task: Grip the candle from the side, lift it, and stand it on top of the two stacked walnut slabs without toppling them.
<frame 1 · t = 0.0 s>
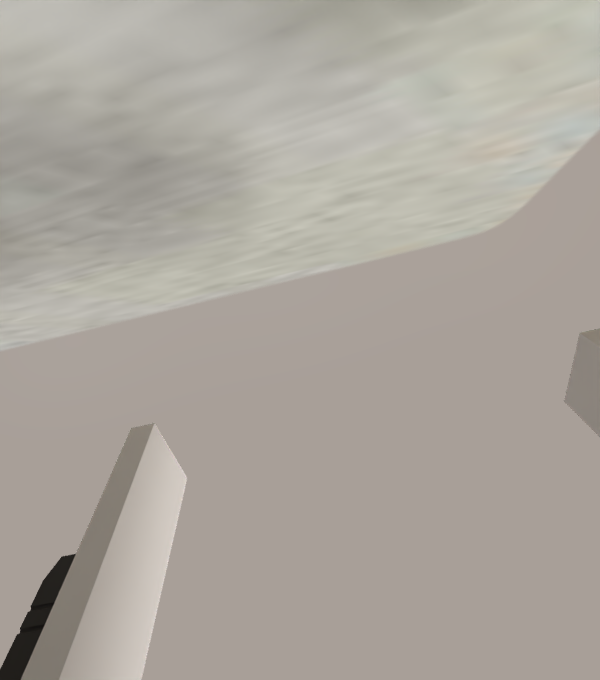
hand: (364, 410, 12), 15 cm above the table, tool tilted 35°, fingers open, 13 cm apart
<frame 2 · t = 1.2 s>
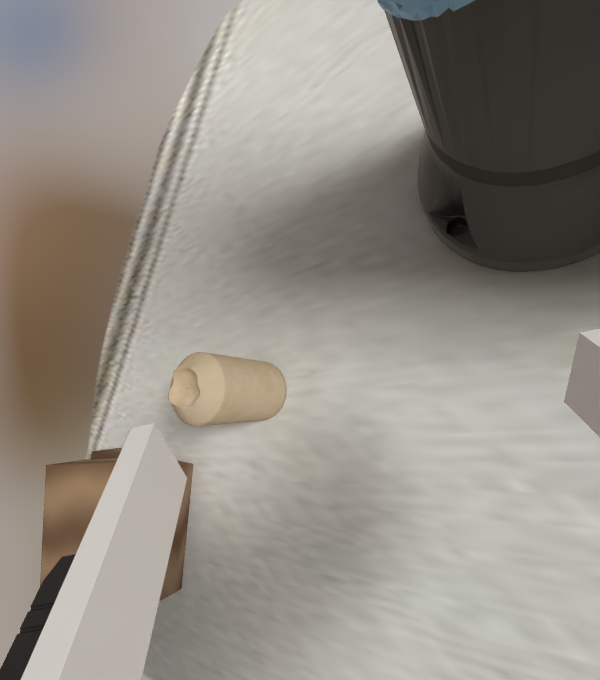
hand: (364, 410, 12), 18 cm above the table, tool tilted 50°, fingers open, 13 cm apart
tower base: (152, 510, 41), on the table, touching tower top
tower top: (117, 519, 37), point 3 cm above the table, touching tower base
candle: (263, 390, 35), on the table
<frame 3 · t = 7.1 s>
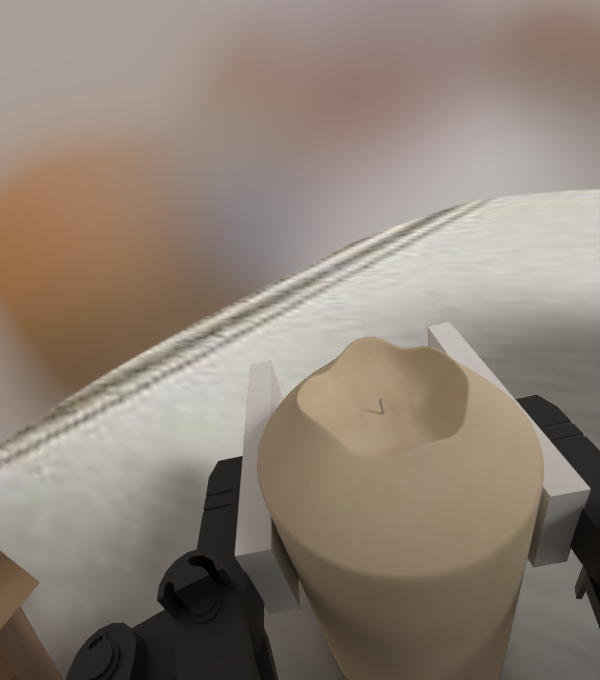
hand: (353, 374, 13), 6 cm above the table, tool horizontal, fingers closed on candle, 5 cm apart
candle: (409, 614, 12), on the table, touching gripper
when the fingers open (14 cm above the table, at t = 11.7 s): candle drops 1 cm, resting on tower top.
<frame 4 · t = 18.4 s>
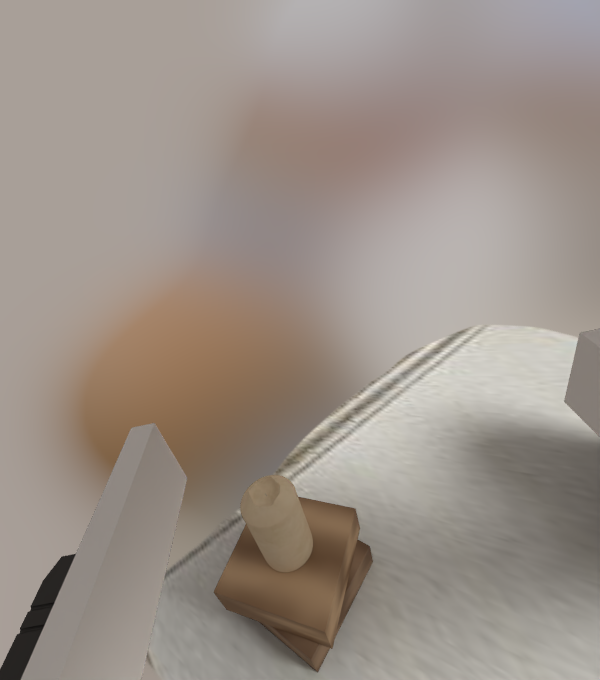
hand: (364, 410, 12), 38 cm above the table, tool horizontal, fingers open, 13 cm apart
tower base: (304, 583, 44), on the table, touching tower top
tower top: (296, 566, 42), point 3 cm above the table, touching candle, tower base
candle: (289, 547, 40), point 7 cm above the table, touching tower top
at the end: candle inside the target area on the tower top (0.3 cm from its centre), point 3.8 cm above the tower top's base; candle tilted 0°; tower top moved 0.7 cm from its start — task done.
